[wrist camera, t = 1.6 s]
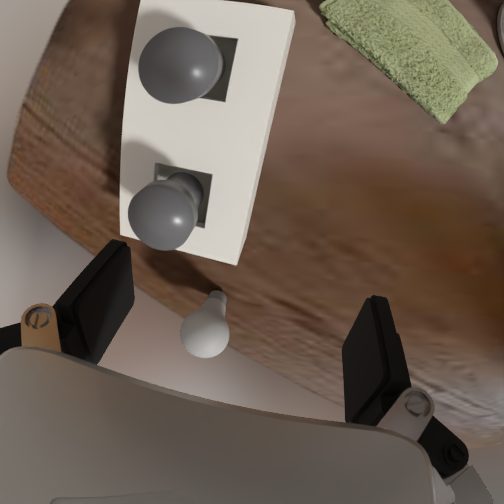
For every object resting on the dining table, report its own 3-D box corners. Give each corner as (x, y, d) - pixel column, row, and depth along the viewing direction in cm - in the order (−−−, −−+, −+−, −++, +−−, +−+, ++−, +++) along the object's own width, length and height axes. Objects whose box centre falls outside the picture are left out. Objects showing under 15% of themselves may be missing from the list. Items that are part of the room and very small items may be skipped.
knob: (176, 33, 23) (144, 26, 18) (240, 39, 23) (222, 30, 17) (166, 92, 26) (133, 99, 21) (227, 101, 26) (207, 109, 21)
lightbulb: (235, 274, 43) (215, 334, 33) (244, 308, 46) (229, 368, 36) (193, 277, 44) (166, 333, 35) (205, 310, 47) (183, 366, 38)
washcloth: (382, -52, 18) (388, -61, 16) (494, 61, 22) (509, 62, 19) (309, 17, 25) (310, 11, 22) (431, 129, 29) (442, 135, 26)
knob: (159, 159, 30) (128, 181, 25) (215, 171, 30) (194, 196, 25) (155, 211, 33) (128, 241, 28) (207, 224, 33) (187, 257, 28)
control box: (166, 7, 25) (140, -2, 20) (295, 22, 25) (293, 11, 20) (142, 212, 40) (120, 234, 35) (245, 238, 39) (236, 265, 34)
